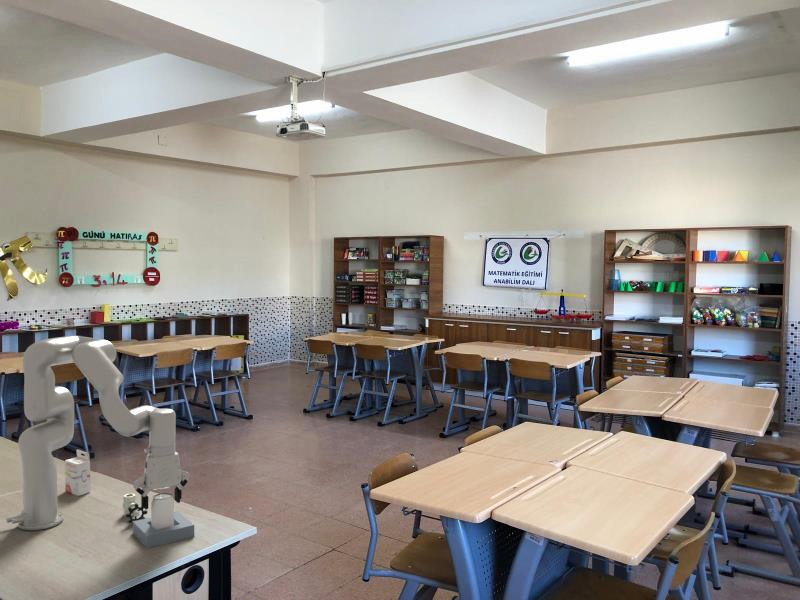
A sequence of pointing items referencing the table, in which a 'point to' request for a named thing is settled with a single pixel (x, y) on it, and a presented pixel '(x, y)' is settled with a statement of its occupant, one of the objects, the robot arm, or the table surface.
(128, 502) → the valve
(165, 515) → the can
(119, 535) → the table surface
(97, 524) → the table surface
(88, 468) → the ink cartridge box
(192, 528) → the socket block
